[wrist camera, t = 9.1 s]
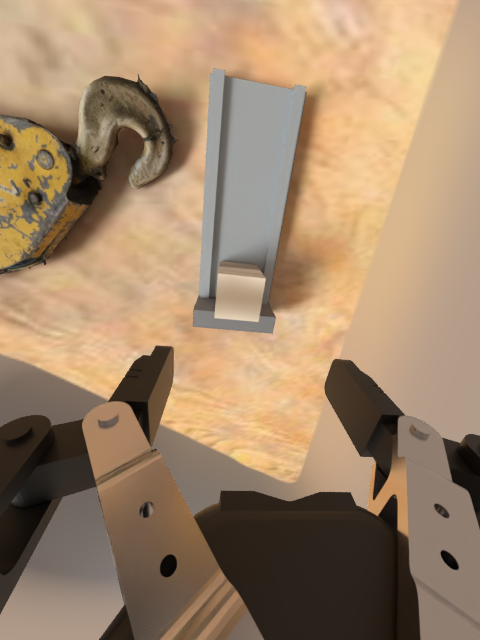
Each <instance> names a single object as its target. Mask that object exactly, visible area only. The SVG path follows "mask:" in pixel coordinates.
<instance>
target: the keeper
mask: <svg viewBox="0 0 480 640" xmlns="http://www.w3.org/2000/svg"><path fill="white" fill-rule="evenodd" d="M265 281H266V278H265V277H264V275H263V274H262V272H261V271H260V269H259V268H258V266H257V265H251V264H242V263H234V262H225V261H220V264H219V270H218V279H217V291H216V303H215V315H214V318H219V319H231V320H242V321H253V322H259V316H260V310H261V304H262V299H263V293H264V287H265Z"/></svg>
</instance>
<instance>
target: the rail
mask: <svg viewBox="0 0 480 640" xmlns="http://www.w3.org/2000/svg"><path fill="white" fill-rule="evenodd" d="M305 90H306V87H305V86H300V85H295V87H294V89H288V88H283V87H278V86H273V85H268V84H263V83H258V82H253V81H248V80H243V79H238V78H233V77H228V76H225V70H220V69H215V68H213V73H210V90H209V109H208V129H207V148H206V167H205V187H204V206H203V225H202V244H201V264H200V283H199V297H198V299H197V302H196V304H195V307H194V310H193V327H203V328H214V329H226V330H238V331H249V332H261V333H273V329H274V324H275V319H276V317H275V315H274V313H273V311H272V309H271V307H270V305H269V303H268V301H269V295H270V290H271V284H272V279H273V273H274V268H275V262H276V257H277V251H278V246H279V240H280V235H281V229H282V224H283V218H284V213H285V207H286V202H287V196H288V191H289V185H290V180H291V174H292V169H293V163H294V158H295V152H296V147H297V141H298V136H299V130H300V125H301V119H302V114H303V108H304V103H305V97H306V92H305ZM220 261H225V262H234V263H242V264H251V265H257V266H258V268H259V269H260V271H261V272H262V274H263V275H264V277H265V278H266V281H265V287H264V293H263V299H262V304H261V310H260V316H259V322H253V321H242V320H231V319H219V318H214V315H215V303H216V291H217V279H218V270H219V264H220Z"/></svg>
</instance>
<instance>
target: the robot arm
mask: <svg viewBox="0 0 480 640" xmlns="http://www.w3.org/2000/svg"><path fill="white" fill-rule="evenodd" d="M173 375H174V350H173V347H171V346H156V347H155V349H154V350H153V352H152V354H151V356H147V355H143V356H141V357H140V358H139V359H137V360H136V361H134V363H133V364H132V366H131V367H130V369H129V371H128V372H127V374H126V375H125V377H124V378H123V380H122V381H121V383H120V384H119V386H118V387H117V389H116V390H115V392H114V393H113V395H112V397H111V398H110V400H109V401H108V403H104V404H102V405H100V406H97V407H96V408H94V409H93V410H91V411H90V412H89V413H88V414H87V415H86V416H85V418H84V419H82V420H78V421H74V422H69V423H64V424H59V425H54V426H52V425H51V422H50V420H49V419H48V418H47V417H45V416H41V415H31V416H26V417H21V418H19V419H16V420H13V421H11V422H9V423H7V424H5V425H3V426H2V427H0V614H1V612H2V610H3V608H4V606H5V604H6V602H7V601H8V599H9V597H10V595H11V593H12V591H13V589H14V587H15V586H16V584H17V582H18V580H19V578H20V576H21V574H22V572H23V570H24V569H25V567H26V565H27V563H28V561H29V559H30V557H31V555H32V554H33V552H34V550H35V548H36V546H37V544H38V542H39V541H40V539H41V537H42V535H43V533H44V531H45V529H46V527H47V525H48V524H49V522H50V520H51V518H52V516H53V514H54V512H55V511H56V509H57V507H58V505H59V503H60V501H61V499H62V497H63V496H67V495H70V494H74V493H77V492H80V491H83V490H87V489H90V488H93V487H96V489H97V493H98V498H99V502H100V506H101V510H102V514H103V518H104V522H105V527H106V531H107V534H108V539H109V543H110V547H111V551H112V555H113V560H114V564H115V568H116V573H117V576H118V580H119V585H120V589H121V593H122V597H123V601H124V606H123V608H122V609H121V610H120V612H119V613H118V615H117V616H116V617H115V619H114V620H113V621H112V623H111V624H110V625H109V627H108V628H107V630H106V631H105V632H104V634H103V635H102V636H101V638H100V639H99V640H480V436H478V435H474V434H468V435H466V436H465V437H464V439H463V440H462V442H461V443H458V442H455V441H451V440H448V439H444V438H442V437H441V436H440V435H439V433H438V432H437V431H436V430H435V429H434V428H432V427H431V426H430V425H428V424H427V423H425V422H423V421H421V420H420V419H417V418H415V417H411V416H405V415H404V413H403V412H402V411H401V410H400V409H399V408H398V407H397V406H396V405H395V404H394V402H393V401H392V400H391V399H390V398H389V397H388V396H387V395H386V394H385V393H384V392H383V390H382V389H381V388H380V387H378V385H377V384H376V383H375V382H374V381H373V379H372V378H370V377H369V376H368V375H366V374H365V373H363V372H362V371H360V370H359V368H358V367H357V366H356V365H355V364H354V363H353V362H352V361H351V360H341V359H335V360H334V361H333V362H332V365H331V368H330V370H329V373H328V376H327V379H326V382H325V394H326V396H327V398H328V400H329V402H330V403H331V405H332V407H333V409H334V410H335V412H336V414H337V416H338V418H339V419H340V421H341V423H342V425H343V426H344V428H345V430H346V432H347V434H348V435H349V437H350V439H351V441H352V442H353V444H354V446H355V448H356V449H357V451H358V453H359V455H360V456H361V457H373V458H374V459H375V462H374V464H373V466H372V472H371V481H370V489H369V490H370V491H369V498H368V506H367V510H366V509H364V508H362V507H359V506H357V505H356V504H355V501H354V499H353V497H352V495H351V493H349V492H319V493H316V494H313V495H310V496H307V497H304V498H301V499H298V500H295V501H285V500H281V499H278V498H274V497H272V496H268V495H265V494H261V493H258V492H255V491H221V493H220V501H219V503H217V504H214V505H211V506H209V507H207V508H205V509H203V510H202V511H200V512H199V513H197V514H196V515H195V516H193V515H192V513H191V511H190V509H189V507H188V505H187V503H186V502H185V500H184V498H183V496H182V494H181V492H180V491H179V488H178V486H177V484H176V482H175V480H174V479H173V477H172V475H171V473H170V471H169V469H168V467H167V465H166V463H165V461H164V459H163V458H162V456H161V454H160V452H159V451H158V450H157V449H155V450H152V449H151V447H152V444H153V441H154V438H155V435H156V432H157V429H158V426H159V423H160V420H161V417H162V414H163V411H164V408H165V405H166V402H167V399H168V396H169V393H170V390H171V387H172V383H173Z"/></svg>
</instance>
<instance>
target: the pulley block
mask: <svg viewBox="0 0 480 640" xmlns="http://www.w3.org/2000/svg"><path fill="white" fill-rule="evenodd" d="M78 113H79V130H78V138H77V139H76V141H75V142H74V144H73V145H69V144H66V143H64V142H62V141H60V140H59V139H58V138H57V137H56V136H55V135H54V134H53V133H51V132H50V131H48V130H47V129H45V128H44V127H43V126H41V125H40V124H37V123H35V122H33V121H31V120H29V119H26V118H18V117H11V116H5V115H0V274H3V273H9V272H12V271H13V270H16V271H20V270H21V269H25V268H28V267H29V269H30V268H31V267H32V266H35V265H38V264H40V263H42V262H43V263H44V265H46V259H48V258H50V255H51V254H52V253H53V251H54V249H55V248H56V246H57V245H58V244H59V243H60V241H61V240H62V239H63V238H66V235H67V233H68V231H69V230H70V229H71V228H72V226H73V225H74V224H75V223H76V221H77V220H78V219H79V218H80V216H81V215H82V214H83V213H84V212H85V210H86V209H87V208H88V207H89V206H90V204H91V203H92V200H93V199H94V197H95V196H96V195H97V194H98V190H101V188H102V187H101V185H100V183H99V179H100V180H104V179H105V178H106V166H107V164H108V163H109V159H110V157H111V155H112V153H113V151H114V149H115V147H116V146H117V145H118V133H119V131H120V129H121V128H122V127H129V128H131V129H133V130H135V131H136V132H138V133H139V134H140V135H141V137H142V139H143V142H144V151H143V154H142V155H141V156H140V157H139V158H138V159H137V160H136V162H135V163H134V165H133V166H132V168H131V171H130V173H129V175H128V179H129V182H130V186H131V187H132V188H134V189H139V188H141V187H142V186H144V185H145V184H146V183H148V182H150V181H151V180H153V179H155V178H157V177H159V176H160V175H161V174H162V173H163V172H164V171H165V170H166V169H167V167H168V164H169V161H170V159H171V156H172V154H173V152H172V146H173V143H175V142H177V141H178V140H176V139H175V138H174V137H173V132H172V125H171V124H170V123H169V122H168V121H167V119H166V116H165V114H164V112H163V111H162V109H161V107H160V106H159V103H158V99H157V95H156V94H154V93H152V92H151V91H150V89H149V88H148V86H147V85H145V84H144V83H143V82H142V81H141V80H140V78H139V75H138V82H134V81H131V80H128V79H124V78H121V77H113V76H104V77H102V78H99V79H97V80H95V81H93V82H92V83H91V84H89V85H88V86H87V87H86V88H85V89H84V92H83V94H82V96H81V99H80V104H79V110H78ZM67 241H68V240H67Z"/></svg>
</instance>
